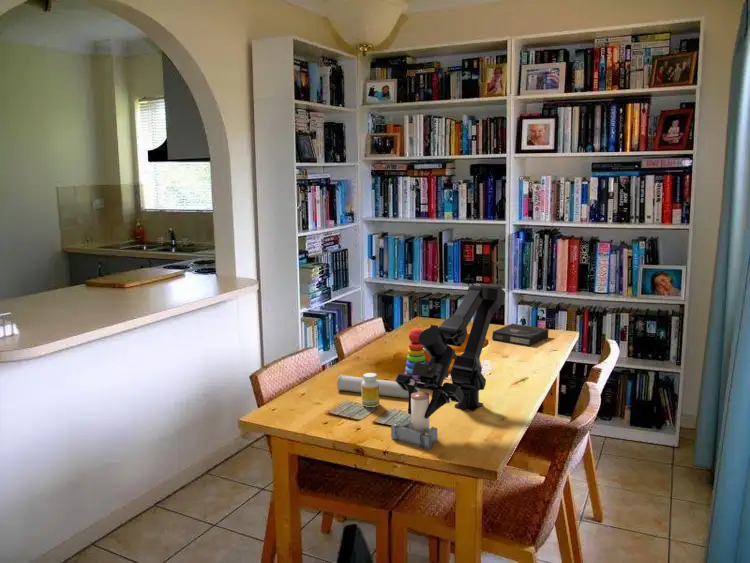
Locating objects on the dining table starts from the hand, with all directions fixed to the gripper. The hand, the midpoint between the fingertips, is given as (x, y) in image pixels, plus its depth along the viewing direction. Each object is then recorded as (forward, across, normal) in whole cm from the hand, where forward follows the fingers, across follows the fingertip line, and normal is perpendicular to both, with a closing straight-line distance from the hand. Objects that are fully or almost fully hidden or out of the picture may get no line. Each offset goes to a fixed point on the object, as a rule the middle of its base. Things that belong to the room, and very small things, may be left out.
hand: (417, 415), depth 172 cm
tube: (-11, -30, +21) cm, 38 cm away
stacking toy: (-22, -25, +31) cm, 45 cm away
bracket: (+5, 0, +4) cm, 7 cm away
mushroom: (+4, 0, +6) cm, 7 cm away
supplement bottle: (-4, -26, +14) cm, 30 cm away
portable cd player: (-70, -18, +80) cm, 108 cm away
